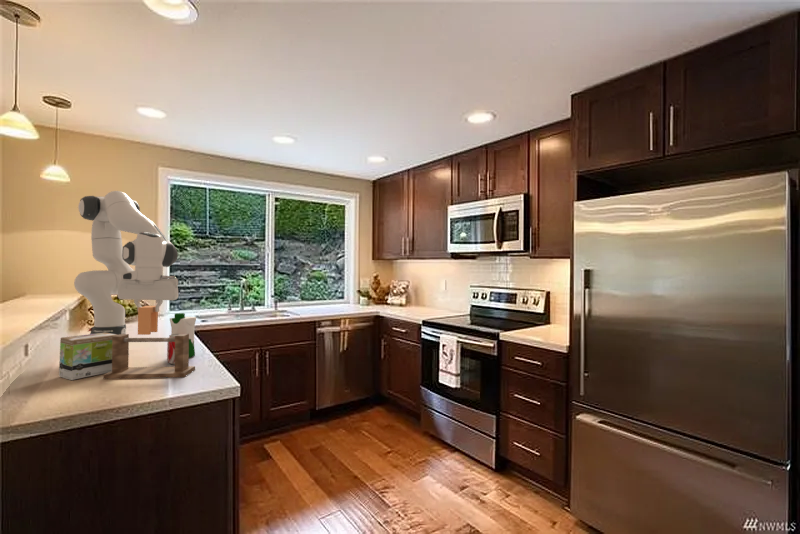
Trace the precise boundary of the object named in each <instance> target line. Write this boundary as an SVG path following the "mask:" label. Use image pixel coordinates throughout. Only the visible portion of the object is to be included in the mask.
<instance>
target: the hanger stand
mask: <svg viewBox="0 0 800 534" xmlns="http://www.w3.org/2000/svg"><path fill="white" fill-rule="evenodd" d="M129 336H130V335H129V333H126V334H119V335H116V336H113V337H112V371H111V372H108V373H105V374H102V376H103V377H102V378H103V380H106V379H107V378H119V379H151V378H150V377H168V378H185V377H187V376H188V375H190V374H191V373H192V371H193V372H194V371H196V366H195V365H190V366H189V364H190V363H189V361H190V360H189V359H190V357H189V334H179V335H177V336H175V338H169V337H129ZM168 342H175V364H174V366H136V367H135V366H134V367H132V366H131V367H130V366H129V355H130V353H129V350H130V349H129V346H130V345H129V343H168ZM186 375H187V376H186ZM104 378H106V379H104ZM107 380H108V379H107Z"/></svg>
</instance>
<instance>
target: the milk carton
mask: <svg viewBox="0 0 800 534" xmlns="http://www.w3.org/2000/svg"><path fill="white" fill-rule="evenodd" d="M196 320H197V317H196V316H186V313H184V312H179V313H174V317H171V318H169V321H170V322H169V323H170V327H171V328H170V329H171V330H170V331H171V334H170V335H172V334H189V358H193V357H196V349H195V326H196ZM192 356H193V357H192Z"/></svg>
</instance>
